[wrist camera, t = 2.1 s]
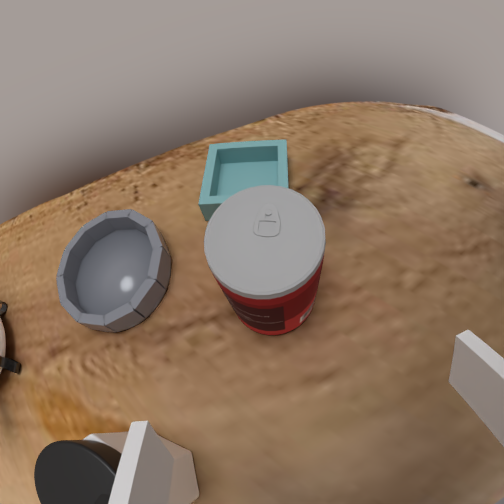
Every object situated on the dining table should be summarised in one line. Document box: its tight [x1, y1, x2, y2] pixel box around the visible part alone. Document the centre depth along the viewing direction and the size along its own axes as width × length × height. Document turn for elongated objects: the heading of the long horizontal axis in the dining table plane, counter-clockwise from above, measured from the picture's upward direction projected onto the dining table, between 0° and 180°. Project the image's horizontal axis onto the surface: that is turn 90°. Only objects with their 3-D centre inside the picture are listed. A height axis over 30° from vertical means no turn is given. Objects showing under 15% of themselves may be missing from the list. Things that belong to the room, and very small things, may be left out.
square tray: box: [199, 140, 288, 221], centre depth 34 cm, size 9×9×3 cm
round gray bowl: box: [56, 209, 171, 332], centre depth 30 cm, size 13×13×3 cm
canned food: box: [204, 185, 326, 335], centre depth 24 cm, size 8×8×11 cm
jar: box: [34, 432, 200, 504], centre depth 16 cm, size 9×8×12 cm
